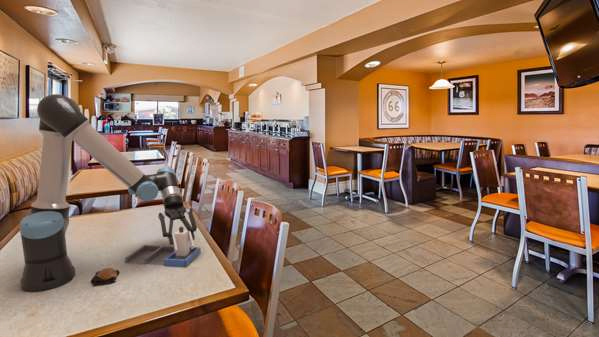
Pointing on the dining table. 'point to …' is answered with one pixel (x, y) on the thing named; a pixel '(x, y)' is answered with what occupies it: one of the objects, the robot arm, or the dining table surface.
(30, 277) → the robot arm
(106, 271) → the bun on dark wrapper
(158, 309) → the dining table surface
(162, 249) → the gray divided tray
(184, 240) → the cream block with knob
